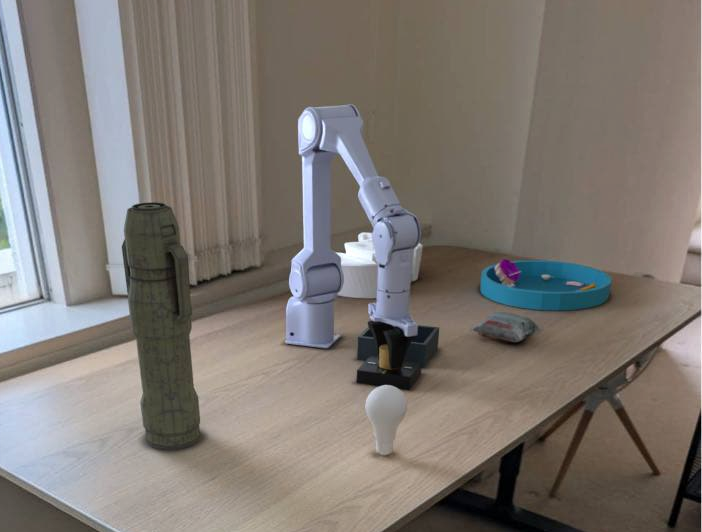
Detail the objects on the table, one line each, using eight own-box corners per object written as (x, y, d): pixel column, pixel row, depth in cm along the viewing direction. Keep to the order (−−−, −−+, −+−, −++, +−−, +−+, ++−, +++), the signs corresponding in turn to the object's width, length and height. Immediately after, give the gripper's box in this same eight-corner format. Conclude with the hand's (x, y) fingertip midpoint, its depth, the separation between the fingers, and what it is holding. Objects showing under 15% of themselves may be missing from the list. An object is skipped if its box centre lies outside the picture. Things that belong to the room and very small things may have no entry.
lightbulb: (360, 446, 125) (363, 379, 119) (399, 444, 125) (403, 377, 119) (367, 464, 120) (369, 395, 114) (407, 462, 120) (412, 393, 114)
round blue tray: (509, 270, 213) (512, 246, 210) (625, 286, 198) (629, 262, 195) (459, 297, 192) (461, 272, 189) (583, 318, 177) (588, 291, 174)
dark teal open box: (357, 359, 157) (357, 336, 155) (373, 342, 166) (374, 320, 163) (424, 368, 153) (425, 344, 150) (437, 349, 161) (439, 327, 159)
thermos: (185, 457, 122) (162, 215, 104) (127, 440, 128) (94, 207, 109) (220, 435, 129) (203, 203, 110) (163, 420, 134) (138, 196, 116)
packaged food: (520, 350, 160) (523, 326, 158) (467, 338, 167) (470, 315, 164) (540, 339, 166) (543, 316, 163) (488, 328, 172) (491, 305, 170)
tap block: (356, 383, 147) (356, 369, 145) (369, 368, 153) (370, 354, 152) (409, 390, 144) (410, 376, 142) (421, 374, 150) (422, 360, 149)
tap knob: (375, 368, 146) (376, 347, 144) (382, 360, 149) (383, 340, 147) (397, 370, 145) (398, 350, 143) (403, 363, 148) (404, 343, 146)
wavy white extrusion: (365, 307, 187) (366, 260, 181) (306, 296, 195) (306, 251, 189) (434, 273, 211) (437, 231, 205) (379, 265, 219) (381, 224, 213)
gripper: (354, 281, 144) (352, 354, 151) (393, 302, 133) (389, 380, 140) (388, 276, 146) (385, 348, 154) (430, 297, 135) (424, 373, 142)
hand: (389, 363), depth 147 cm, fingers closed on tap knob, 4 cm apart
